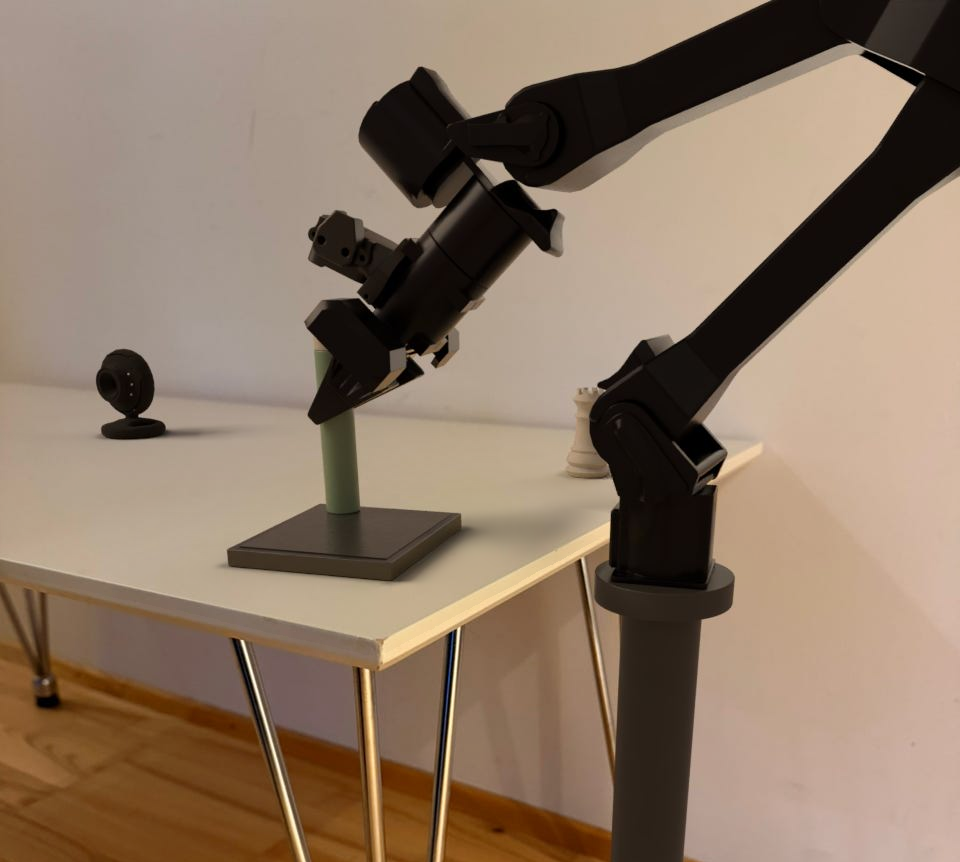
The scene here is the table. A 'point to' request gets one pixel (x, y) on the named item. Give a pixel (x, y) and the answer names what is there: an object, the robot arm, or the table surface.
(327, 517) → the plate
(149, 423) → the webcam
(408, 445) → the table surface
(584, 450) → the rook chess piece
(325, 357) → the green cylinder
